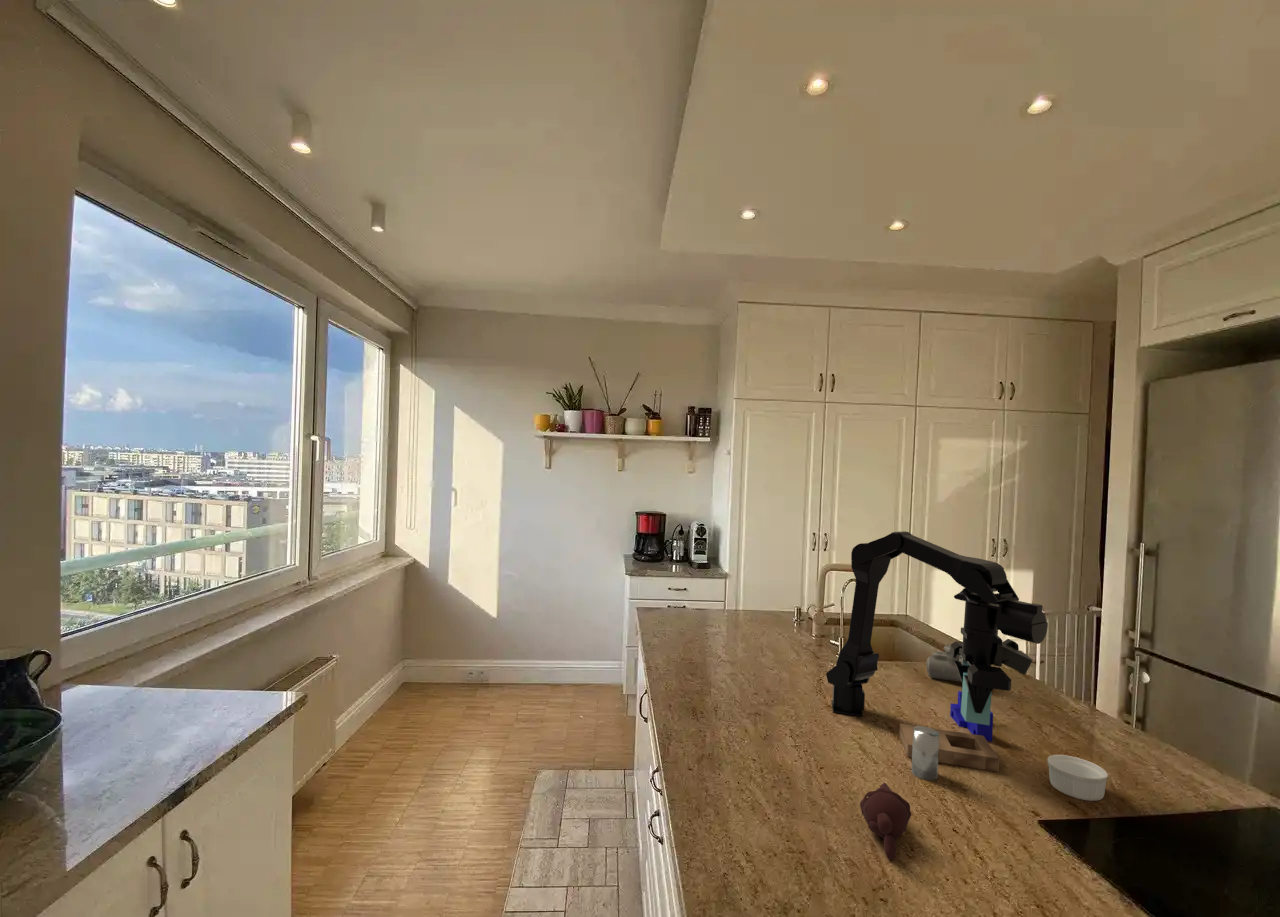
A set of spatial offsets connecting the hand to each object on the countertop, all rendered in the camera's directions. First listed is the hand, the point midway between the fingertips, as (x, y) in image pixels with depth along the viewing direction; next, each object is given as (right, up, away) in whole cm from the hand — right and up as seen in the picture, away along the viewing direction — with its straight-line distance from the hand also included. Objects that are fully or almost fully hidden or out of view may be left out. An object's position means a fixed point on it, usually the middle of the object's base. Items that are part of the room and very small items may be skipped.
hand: (975, 708), depth 114 cm
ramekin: (+15, -12, -6) cm, 20 cm away
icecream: (-26, -10, -22) cm, 36 cm away
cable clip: (+9, -12, +18) cm, 24 cm away
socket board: (-3, -11, +6) cm, 13 cm away
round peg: (-11, -11, -3) cm, 16 cm away
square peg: (0, -2, 0) cm, 2 cm away
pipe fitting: (+20, -13, +47) cm, 53 cm away
